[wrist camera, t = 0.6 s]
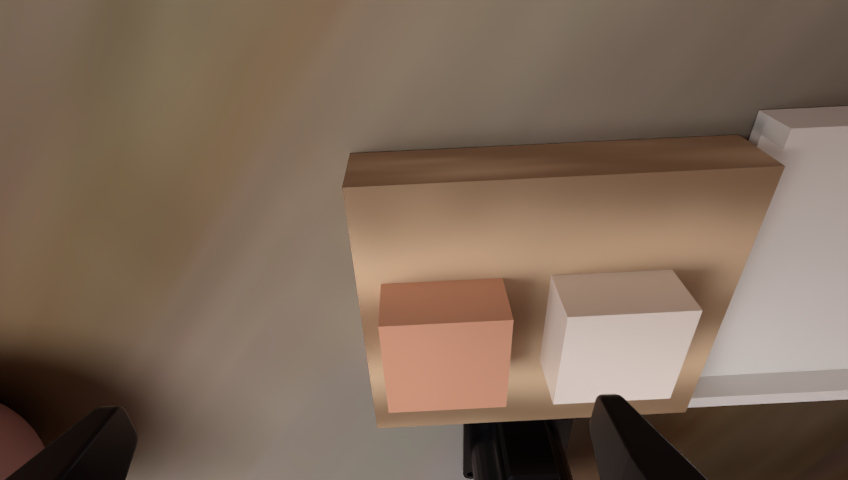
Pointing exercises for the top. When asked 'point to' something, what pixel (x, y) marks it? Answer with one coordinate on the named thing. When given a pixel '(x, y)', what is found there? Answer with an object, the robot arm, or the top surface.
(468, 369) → the tile terracotta
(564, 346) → the tile cream
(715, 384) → the tray
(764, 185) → the thick wooden platform
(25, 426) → the mortar and pestle
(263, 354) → the top surface
